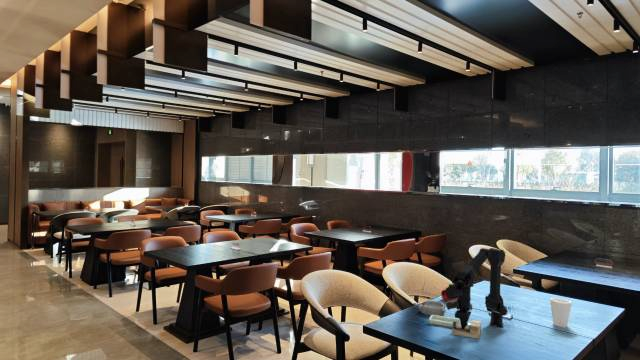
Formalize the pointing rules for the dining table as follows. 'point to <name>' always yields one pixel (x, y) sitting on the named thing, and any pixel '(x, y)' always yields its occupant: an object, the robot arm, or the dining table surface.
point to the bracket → (474, 330)
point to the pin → (458, 326)
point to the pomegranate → (446, 296)
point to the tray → (442, 321)
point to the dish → (433, 308)
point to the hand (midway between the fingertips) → (463, 327)
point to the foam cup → (560, 311)
